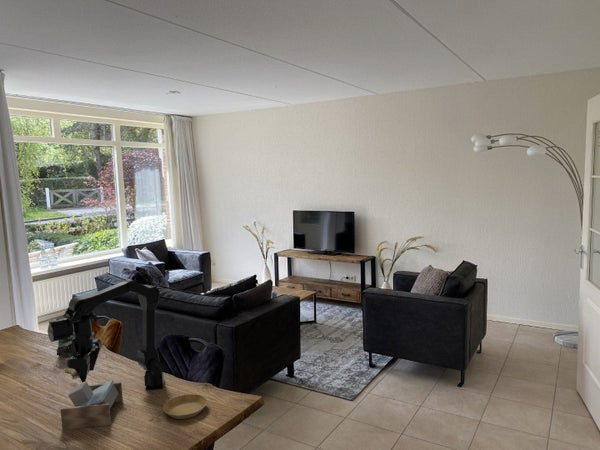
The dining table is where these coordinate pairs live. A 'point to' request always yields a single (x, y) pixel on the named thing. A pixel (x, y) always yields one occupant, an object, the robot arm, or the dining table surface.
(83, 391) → the grey cube
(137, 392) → the dining table surface
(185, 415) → the plant saucer
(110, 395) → the trapdoor
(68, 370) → the pottery shard
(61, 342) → the coffee jar
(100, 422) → the frame
